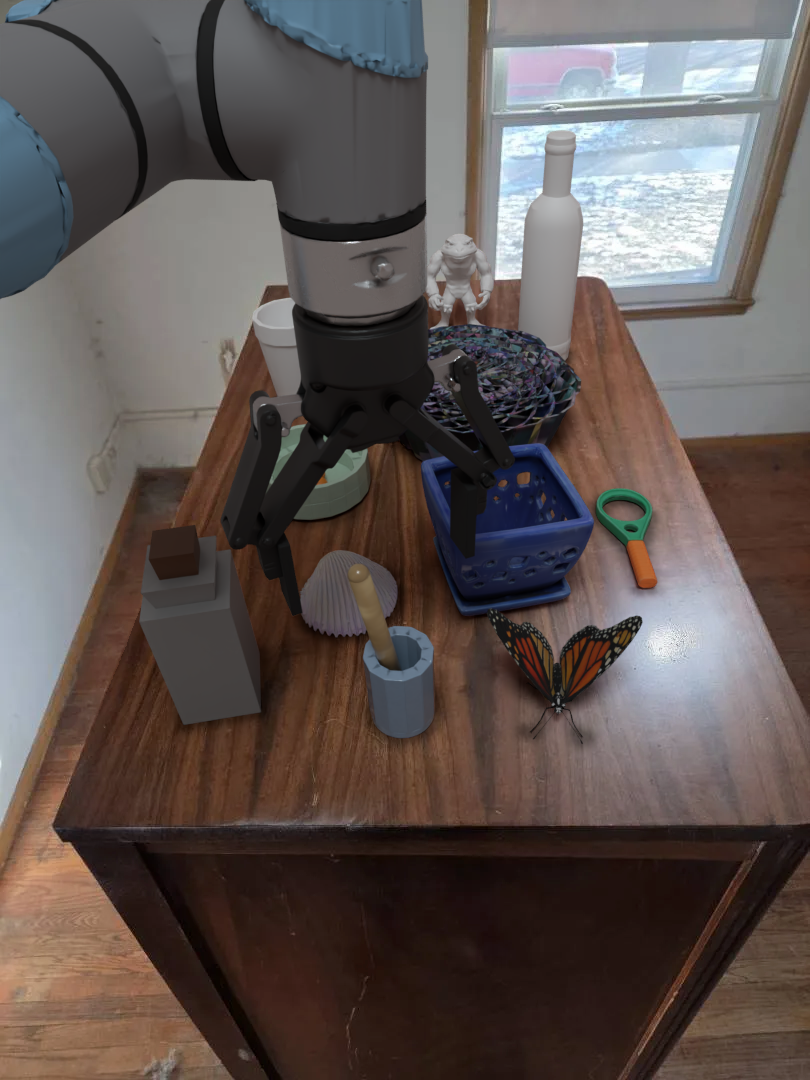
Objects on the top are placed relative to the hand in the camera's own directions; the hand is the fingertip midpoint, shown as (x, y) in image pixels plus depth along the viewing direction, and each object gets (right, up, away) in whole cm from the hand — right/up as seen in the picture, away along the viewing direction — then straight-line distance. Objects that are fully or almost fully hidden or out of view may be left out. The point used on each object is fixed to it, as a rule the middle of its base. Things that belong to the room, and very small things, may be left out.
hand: (380, 573), depth 54 cm
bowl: (-9, +9, +34) cm, 37 cm away
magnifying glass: (+26, +2, +25) cm, 36 cm away
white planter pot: (-13, +22, +50) cm, 56 cm away
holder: (+2, -12, +10) cm, 16 cm away
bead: (-8, +9, +32) cm, 34 cm away
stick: (+2, -12, +9) cm, 15 cm away
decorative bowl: (+10, +17, +43) cm, 47 cm away
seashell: (-4, -4, +20) cm, 21 cm away
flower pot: (+11, -2, +22) cm, 25 cm away
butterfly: (+15, -12, +10) cm, 21 cm away
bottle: (+22, +30, +56) cm, 68 cm away
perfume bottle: (-15, -11, +13) cm, 22 cm away
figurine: (+10, +36, +64) cm, 74 cm away
